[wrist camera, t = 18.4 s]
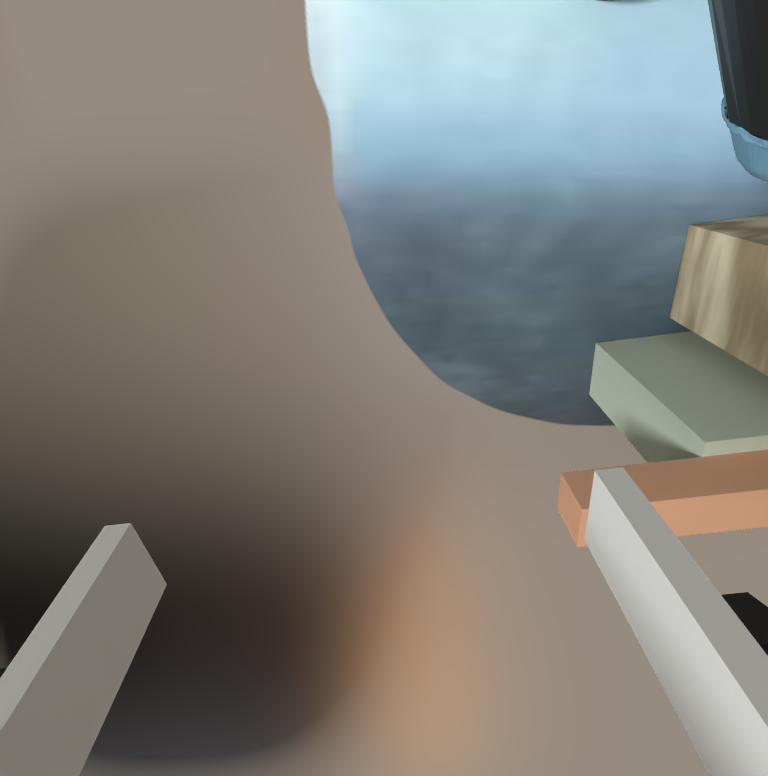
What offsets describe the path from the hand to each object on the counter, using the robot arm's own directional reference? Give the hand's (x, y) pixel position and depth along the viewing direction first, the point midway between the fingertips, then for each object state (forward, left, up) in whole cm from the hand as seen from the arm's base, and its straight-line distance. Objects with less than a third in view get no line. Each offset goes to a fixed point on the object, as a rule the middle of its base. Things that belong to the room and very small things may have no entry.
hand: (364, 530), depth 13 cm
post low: (+12, +34, -37) cm, 51 cm away
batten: (+12, +30, -18) cm, 37 cm away
